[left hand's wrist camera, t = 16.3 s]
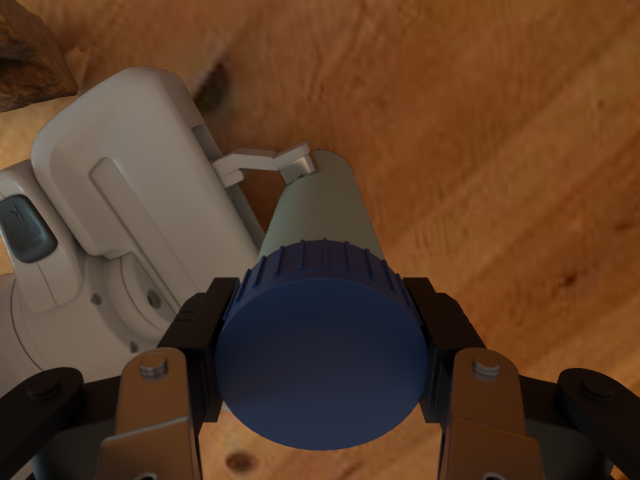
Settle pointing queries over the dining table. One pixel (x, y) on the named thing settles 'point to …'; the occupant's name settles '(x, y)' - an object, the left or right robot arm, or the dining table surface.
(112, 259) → the right robot arm
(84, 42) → the dining table surface
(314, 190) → the green bottle
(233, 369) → the lid
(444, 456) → the left robot arm
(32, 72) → the decorative rock
